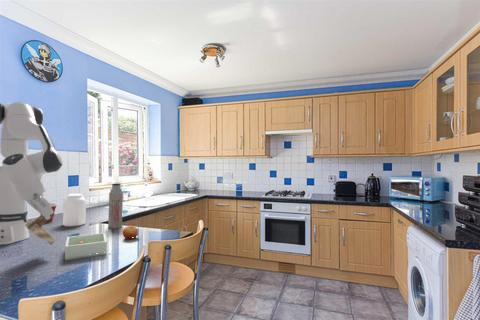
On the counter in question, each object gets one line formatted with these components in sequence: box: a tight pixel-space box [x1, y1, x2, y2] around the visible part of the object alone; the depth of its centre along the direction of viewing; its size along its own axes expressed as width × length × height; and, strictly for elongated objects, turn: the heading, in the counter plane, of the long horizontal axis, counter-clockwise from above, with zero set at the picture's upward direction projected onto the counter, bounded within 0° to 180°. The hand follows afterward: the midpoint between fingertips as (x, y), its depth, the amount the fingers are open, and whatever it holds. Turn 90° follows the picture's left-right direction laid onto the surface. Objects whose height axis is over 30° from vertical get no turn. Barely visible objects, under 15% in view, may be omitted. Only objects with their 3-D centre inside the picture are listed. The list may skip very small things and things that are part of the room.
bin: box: [64, 232, 108, 261], centre depth 123 cm, size 16×16×6 cm
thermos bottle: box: [107, 183, 124, 229], centre depth 168 cm, size 8×8×28 cm
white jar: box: [62, 193, 87, 227], centre depth 172 cm, size 12×12×20 cm
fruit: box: [122, 225, 139, 241], centre depth 145 cm, size 8×8×8 cm
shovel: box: [25, 213, 58, 246], centre depth 117 cm, size 11×8×10 cm
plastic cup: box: [39, 202, 58, 223], centre depth 178 cm, size 11×11×12 cm
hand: (46, 217), depth 116 cm, fingers closed on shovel, 3 cm apart
